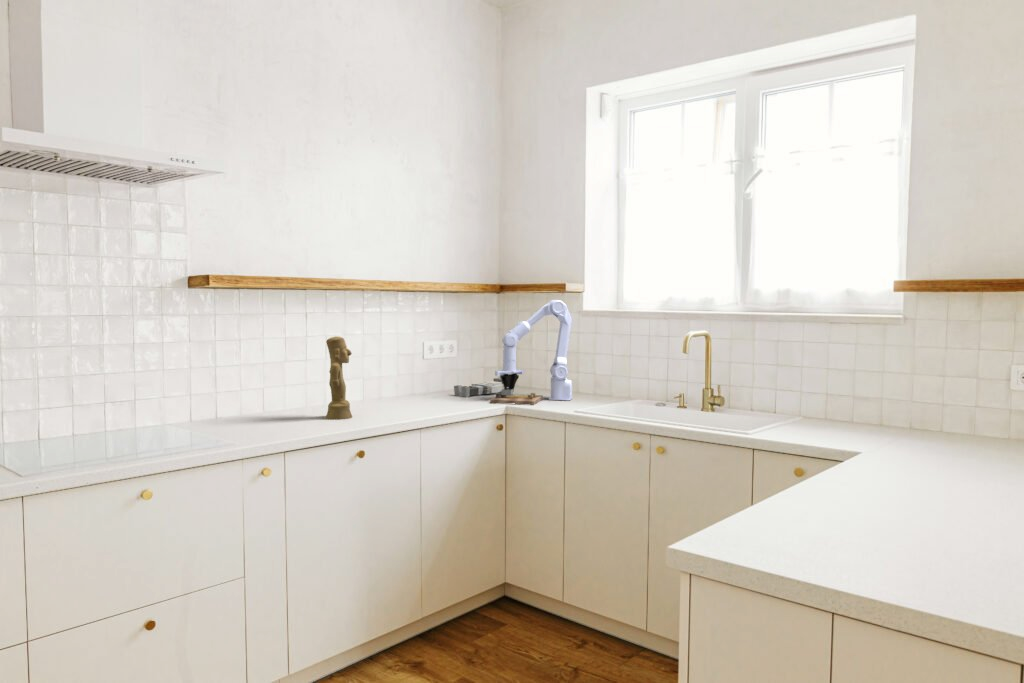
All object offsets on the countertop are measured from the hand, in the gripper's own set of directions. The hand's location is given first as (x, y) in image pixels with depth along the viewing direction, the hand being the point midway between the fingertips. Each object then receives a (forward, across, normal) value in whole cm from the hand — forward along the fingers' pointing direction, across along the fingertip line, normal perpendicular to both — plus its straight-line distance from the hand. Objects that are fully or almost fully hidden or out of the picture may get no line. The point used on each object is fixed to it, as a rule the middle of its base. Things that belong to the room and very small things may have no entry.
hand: (509, 391), depth 326 cm
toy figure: (+4, +3, +23) cm, 24 cm away
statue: (+4, -82, -3) cm, 82 cm away
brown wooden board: (+4, 0, -5) cm, 6 cm away
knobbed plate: (+1, -3, -3) cm, 4 cm away
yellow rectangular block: (+2, +1, -6) cm, 7 cm away
